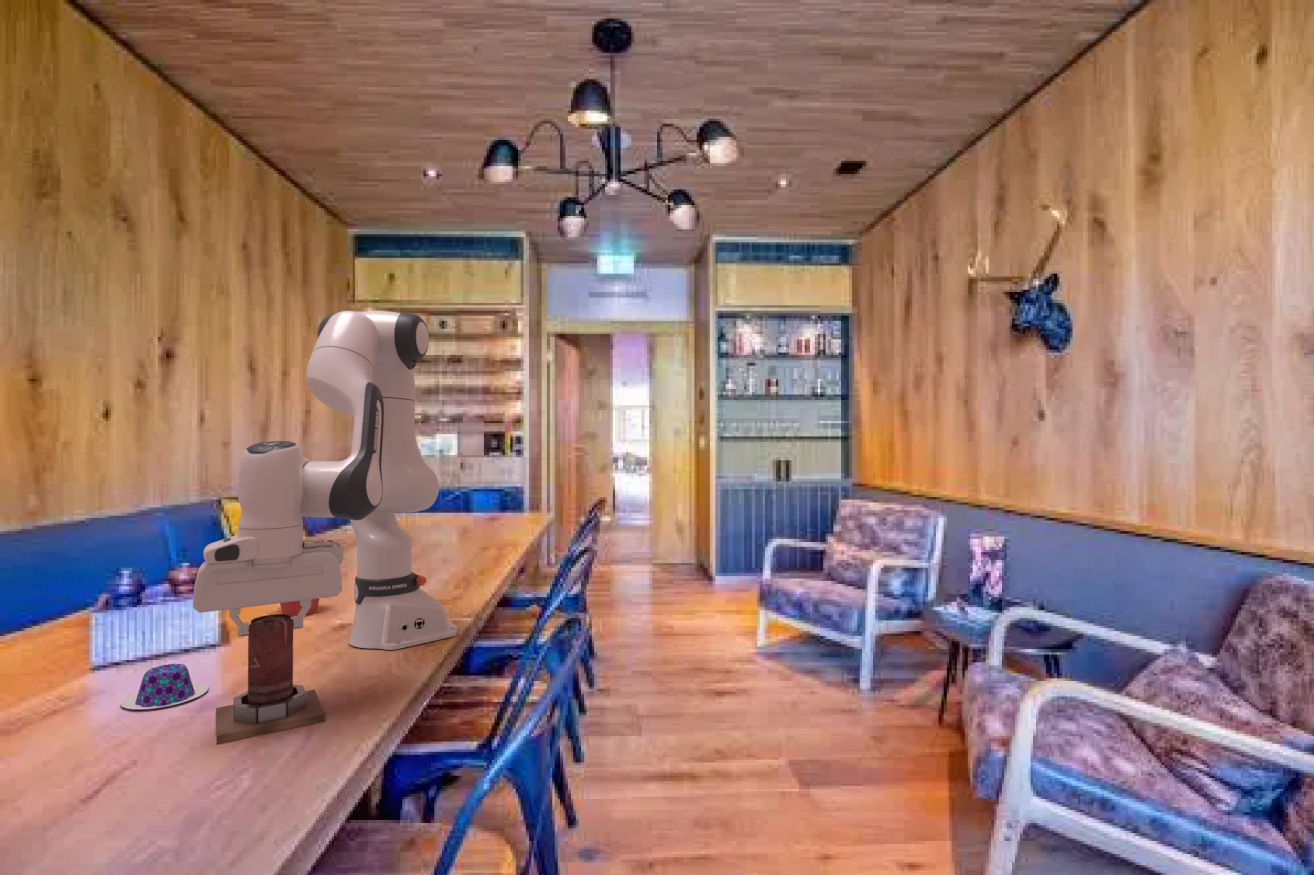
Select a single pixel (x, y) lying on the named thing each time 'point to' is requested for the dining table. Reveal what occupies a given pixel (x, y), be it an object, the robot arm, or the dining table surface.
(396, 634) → the robot arm
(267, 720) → the ring
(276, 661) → the can
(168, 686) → the patterned hat
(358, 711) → the dining table surface
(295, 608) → the flower pot
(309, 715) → the holder board
